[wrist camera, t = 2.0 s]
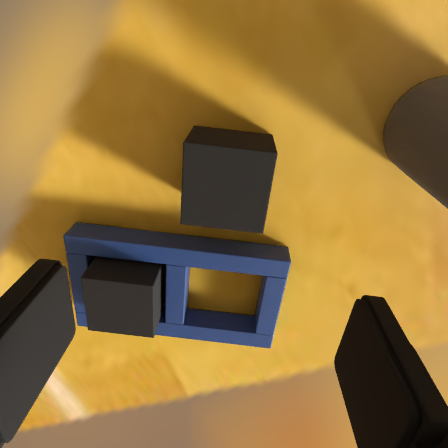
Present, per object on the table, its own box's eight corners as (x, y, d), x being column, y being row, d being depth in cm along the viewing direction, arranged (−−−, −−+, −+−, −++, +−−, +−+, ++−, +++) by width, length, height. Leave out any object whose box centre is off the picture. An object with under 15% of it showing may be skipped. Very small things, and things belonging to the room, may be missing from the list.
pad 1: (102, 245, 26) (79, 277, 22) (166, 253, 26) (153, 286, 22) (107, 294, 28) (87, 330, 25) (165, 301, 28) (153, 338, 25)
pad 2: (193, 125, 21) (183, 141, 17) (272, 134, 21) (277, 152, 17) (190, 197, 23) (180, 224, 20) (260, 205, 23) (263, 234, 20)
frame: (75, 221, 25) (62, 235, 23) (288, 246, 25) (291, 261, 23) (87, 308, 29) (77, 325, 27) (269, 330, 29) (270, 348, 27)
